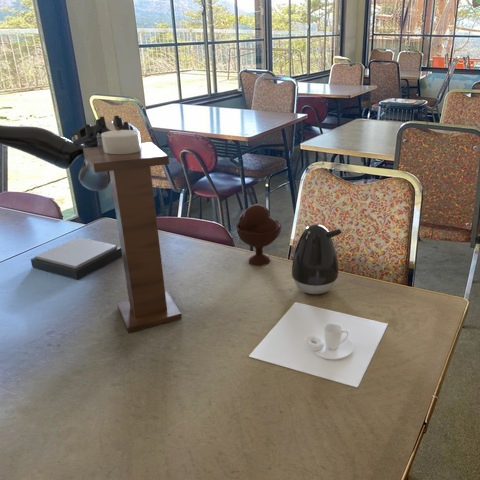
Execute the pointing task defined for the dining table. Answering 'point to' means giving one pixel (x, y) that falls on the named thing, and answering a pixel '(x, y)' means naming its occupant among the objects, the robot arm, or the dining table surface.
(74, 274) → the scale
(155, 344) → the dining table surface
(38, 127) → the robot arm
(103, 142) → the white handled cylinder
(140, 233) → the wooden lectern stand
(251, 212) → the ice cream bowl
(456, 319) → the dining table surface
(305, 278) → the pump dispenser
